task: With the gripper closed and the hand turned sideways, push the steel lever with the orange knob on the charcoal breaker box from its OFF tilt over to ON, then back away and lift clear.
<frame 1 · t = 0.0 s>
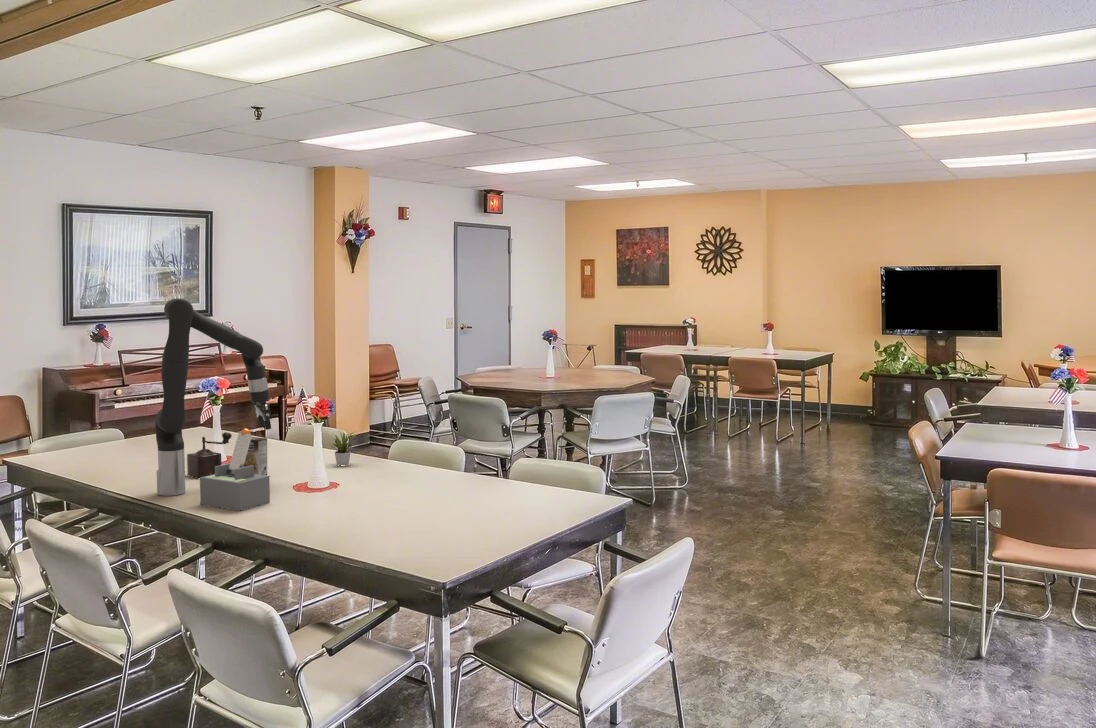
hand: (265, 427, 332), 22 cm above the table, tool pointing down, fingers open, 8 cm apart
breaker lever: (240, 451, 299), point 19 cm above the table, hinge at 22.0°
house plant: (345, 465, 368), on the table
manual coffee grinder: (210, 475, 347), on the table
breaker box: (235, 503, 297), on the table
coffee box: (254, 475, 345), on the table
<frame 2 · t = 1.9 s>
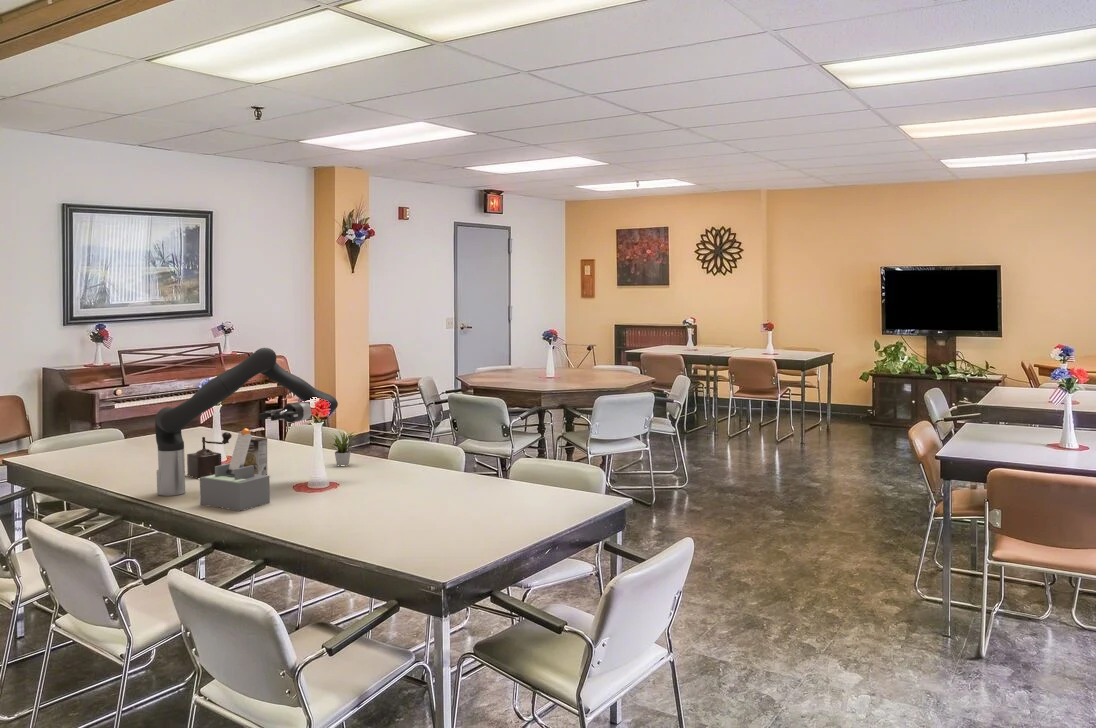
hand: (265, 417, 309), 30 cm above the table, tool horizontal, fingers open, 5 cm apart
nothing on the table moved.
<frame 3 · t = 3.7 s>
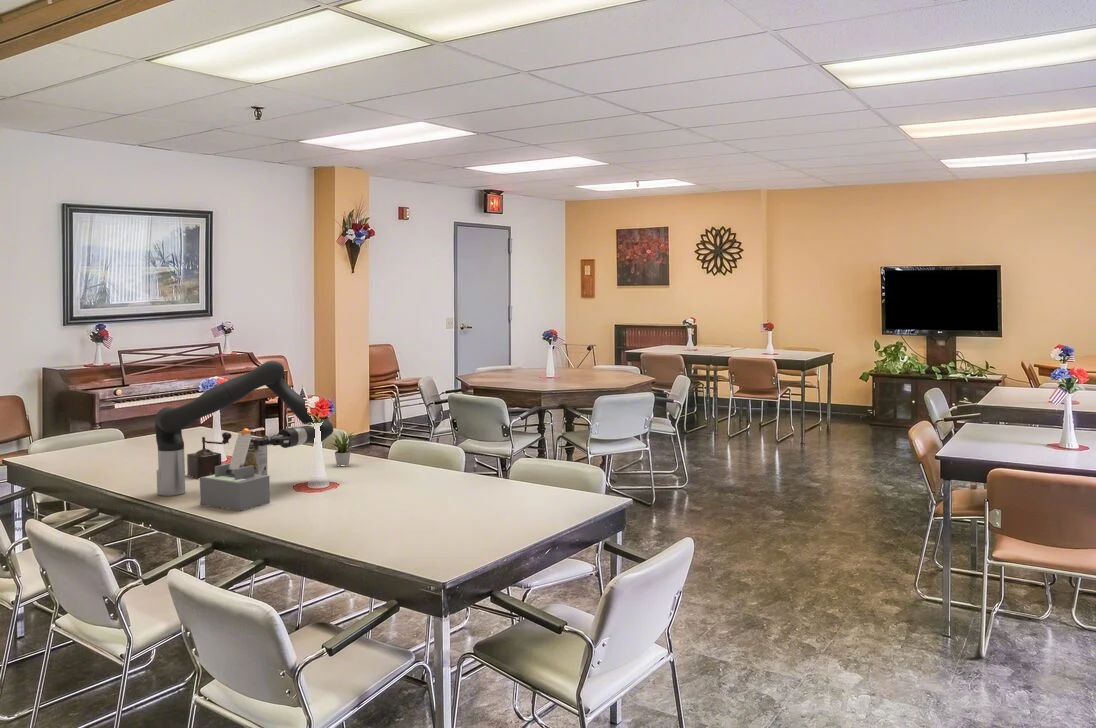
hand: (259, 443, 307), 20 cm above the table, tool horizontal, fingers closed
nothing on the table moved.
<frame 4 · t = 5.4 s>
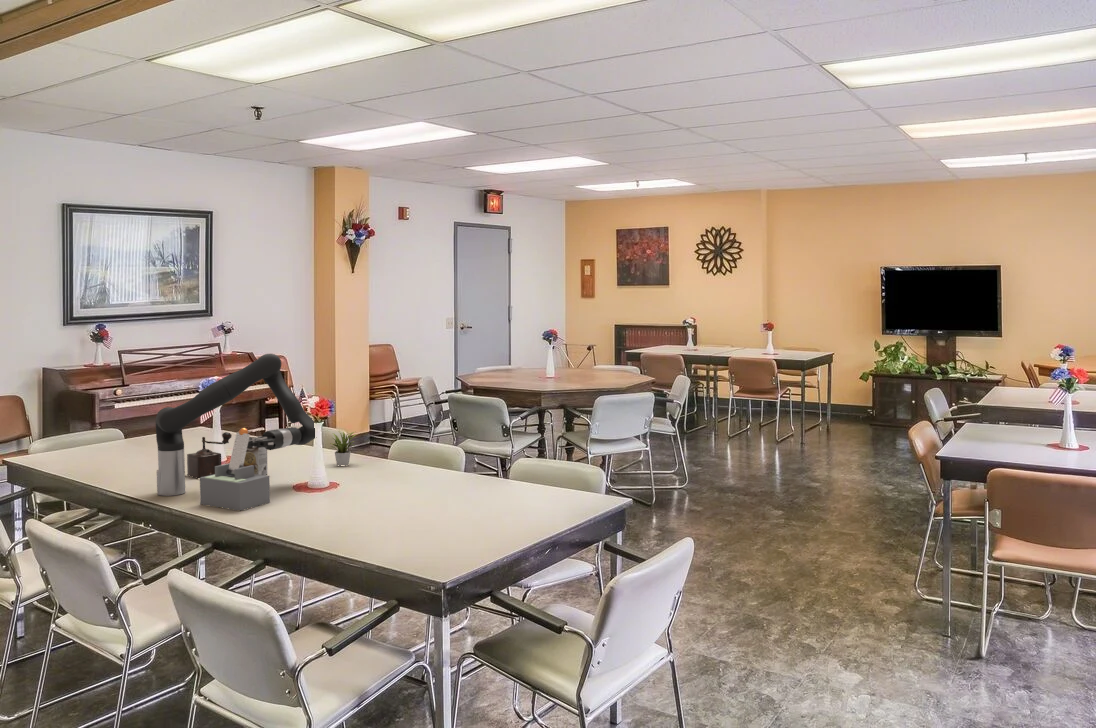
hand: (242, 445, 300), 21 cm above the table, tool horizontal, fingers closed
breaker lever: (239, 451, 298), point 19 cm above the table, hinge at 17.8°, touching gripper
everything else where it was.
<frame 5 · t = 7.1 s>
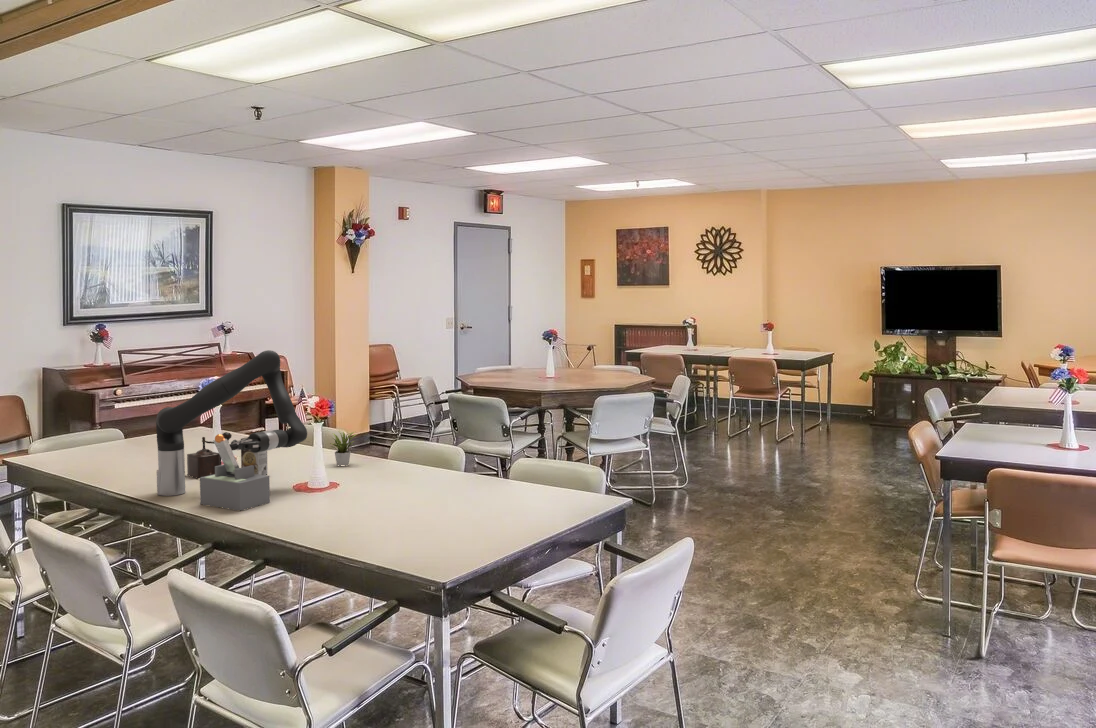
hand: (226, 448, 293), 21 cm above the table, tool horizontal, fingers closed
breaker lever: (226, 455, 293), point 19 cm above the table, hinge at -25.4°, touching gripper
everything else where it was.
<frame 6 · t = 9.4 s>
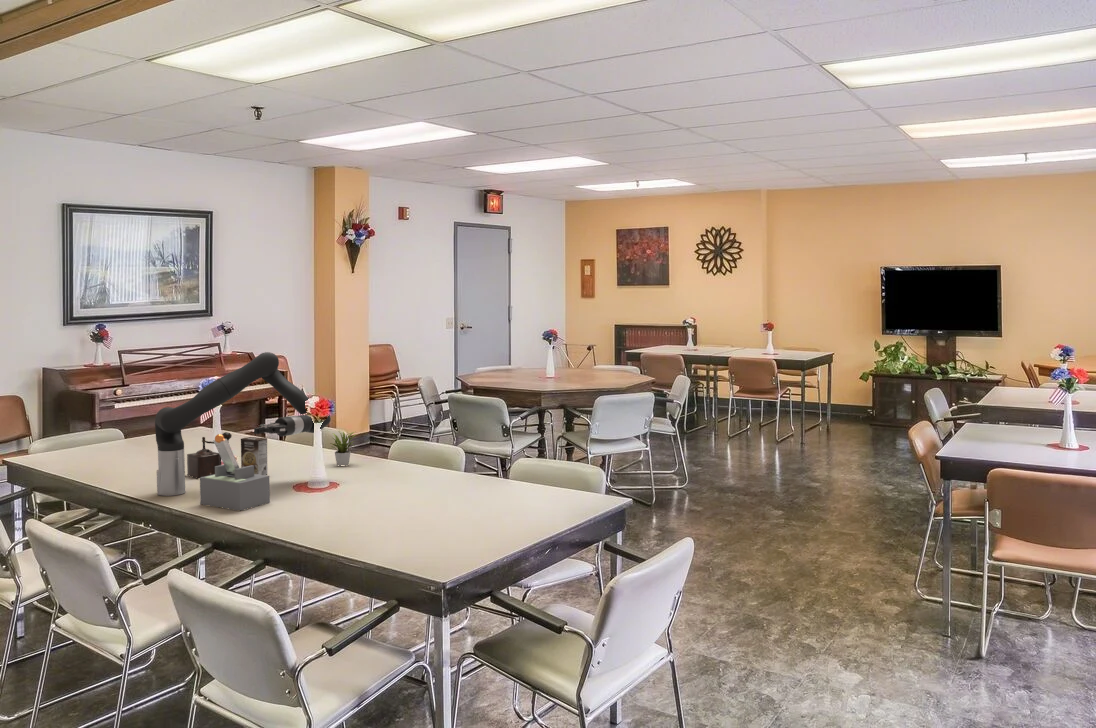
hand: (255, 431, 308), 25 cm above the table, tool horizontal, fingers closed
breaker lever: (226, 455, 293), point 19 cm above the table, hinge at -25.4°
everything else where it was.
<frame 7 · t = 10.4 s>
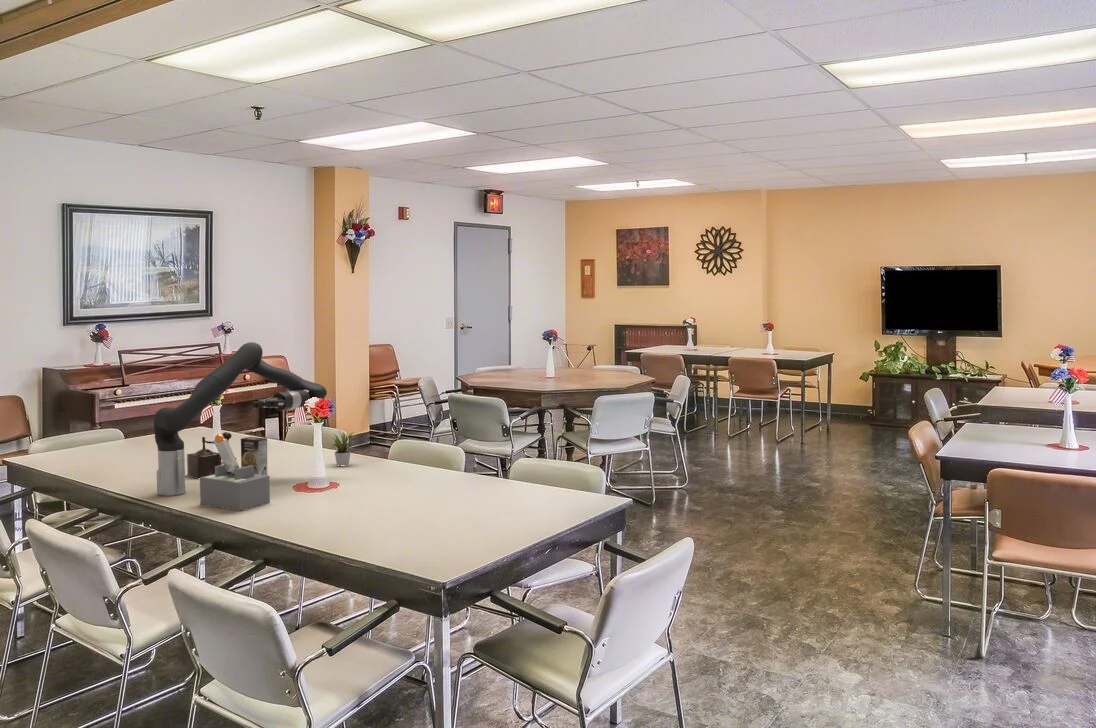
hand: (254, 405, 314), 34 cm above the table, tool horizontal, fingers closed
nothing on the table moved.
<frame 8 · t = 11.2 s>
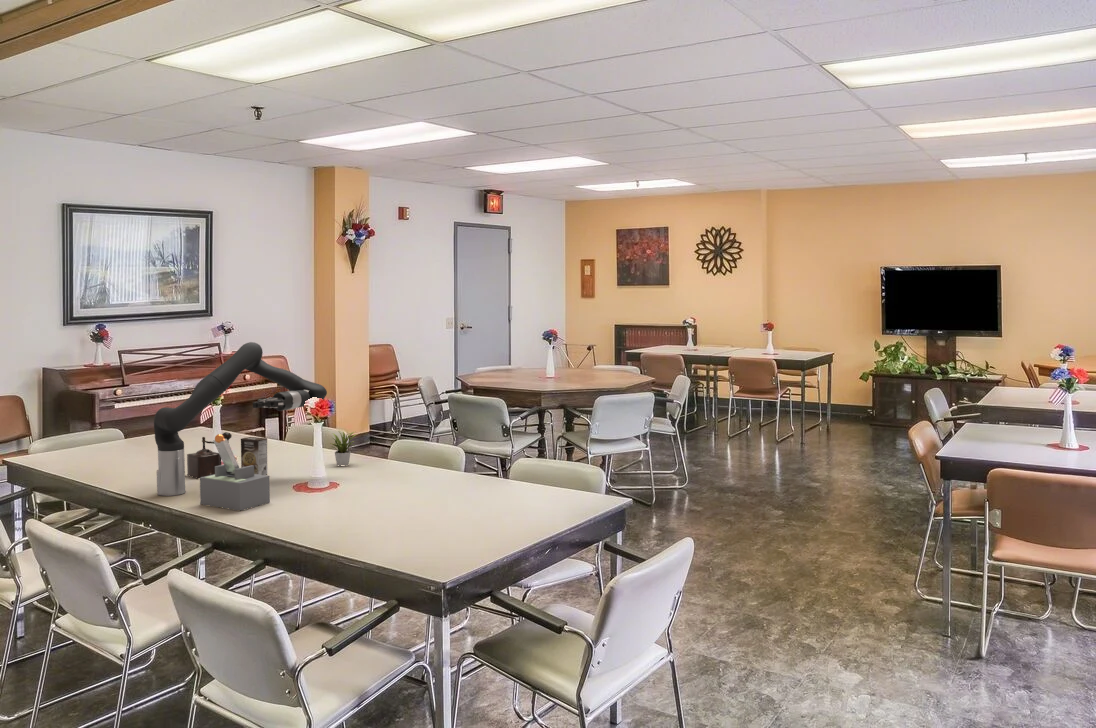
hand: (254, 405, 314), 34 cm above the table, tool horizontal, fingers closed
nothing on the table moved.
at the end: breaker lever at -25° (first picture: +22°); coffee box moved 0.2 cm from its start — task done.
